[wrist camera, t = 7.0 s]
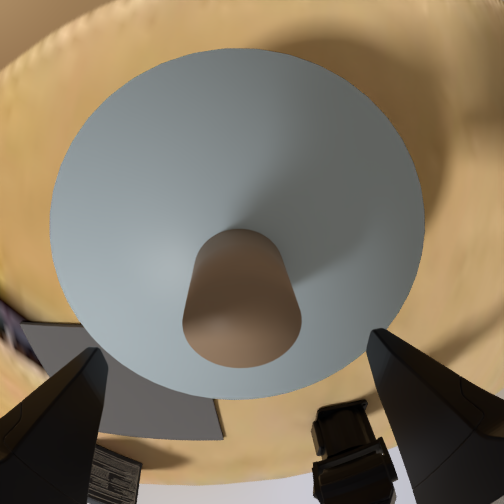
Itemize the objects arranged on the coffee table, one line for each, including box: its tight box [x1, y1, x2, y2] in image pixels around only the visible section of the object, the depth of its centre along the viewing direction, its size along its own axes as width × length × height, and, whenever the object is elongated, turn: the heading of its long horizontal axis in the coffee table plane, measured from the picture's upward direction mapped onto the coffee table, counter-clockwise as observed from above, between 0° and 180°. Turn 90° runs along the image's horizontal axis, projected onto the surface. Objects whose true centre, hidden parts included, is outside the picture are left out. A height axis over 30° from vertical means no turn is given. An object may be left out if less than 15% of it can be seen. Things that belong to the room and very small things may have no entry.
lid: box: [50, 49, 425, 400], centre depth 12 cm, size 19×19×5 cm
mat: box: [20, 322, 223, 440], centre depth 28 cm, size 20×20×1 cm
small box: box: [87, 444, 142, 504], centre depth 31 cm, size 11×6×10 cm, turn 50°
